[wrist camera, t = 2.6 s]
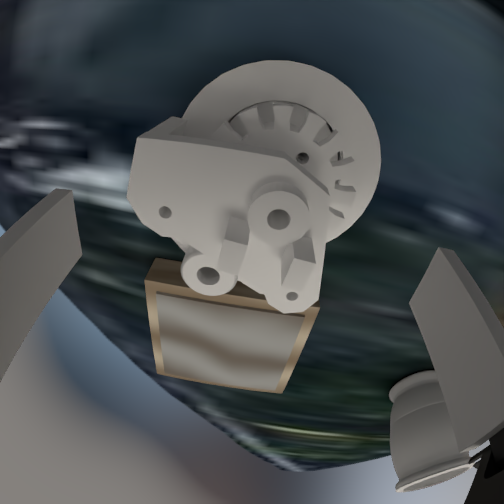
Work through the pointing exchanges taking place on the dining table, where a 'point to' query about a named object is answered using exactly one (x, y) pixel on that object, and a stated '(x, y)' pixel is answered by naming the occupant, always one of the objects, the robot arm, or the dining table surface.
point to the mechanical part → (258, 179)
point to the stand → (222, 333)
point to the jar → (423, 434)
